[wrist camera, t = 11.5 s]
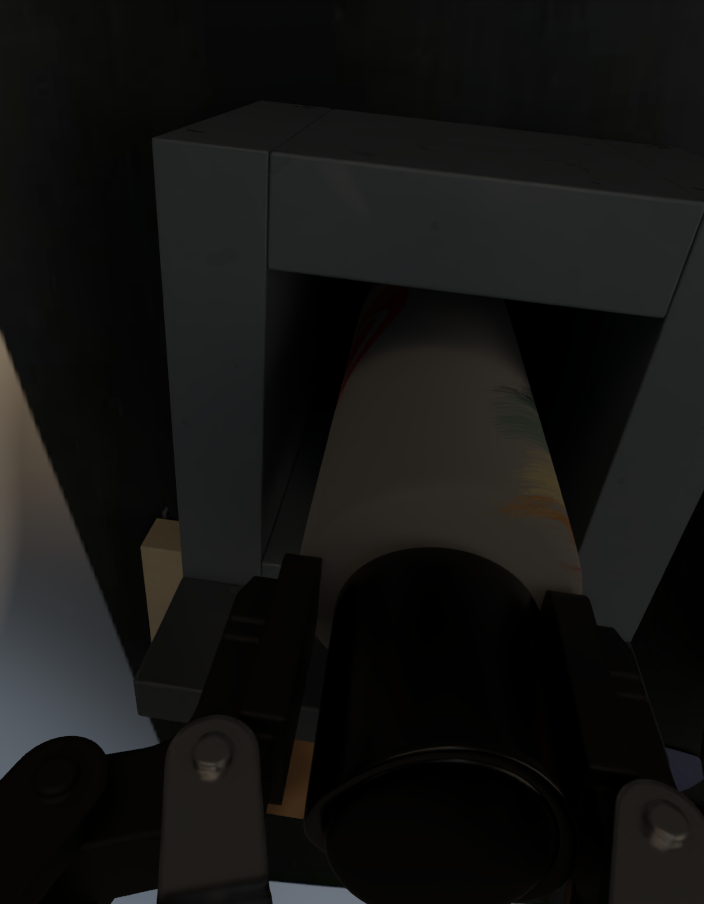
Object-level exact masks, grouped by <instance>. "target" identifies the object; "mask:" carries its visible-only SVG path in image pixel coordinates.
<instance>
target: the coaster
mask: <svg viewBox="0 0 704 904" xmlns="http://www.w3.org/2000/svg"><path fill="white" fill-rule="evenodd" d="M313 748H314V742H307V741H301V740H295V741H294V746H293V751H292V756H291V761H290V766H289V771H288V776H287V781H286V786H285V791H284V797H283V802H282V806H281V805H275V804H268V806H267V811H266V813H269V814H275V815H281V816H287V817H293V818H300V819H304V811H305V803H306V796H307V789H308V782H309V775H310V768H311V762H312V755H313Z"/></svg>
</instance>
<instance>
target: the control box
mask: <svg viewBox="0 0 704 904" xmlns="http://www.w3.org/2000/svg"><path fill="white" fill-rule="evenodd" d="M141 555H142V564H143V573H144V581H145V590H146V598H147V607H148V616H149V624H150V633H151V641H153V639H154V637H155V635H156V632H157V630H158V628H159V626H160V624H161V622H162V620H163V618H164V615H165V613H166V611H167V609H168V607H169V605H170V603H171V601H172V598H173V596H174V594H175V592H176V590H177V588H178V586H179V584H180V581H181V579H182V578H183V572H182V558H181V544H180V530H179V521H174V520H167V519H160V518H157V519H156V521H155V522H154V524H153V526H152V527H151V529H150V531H149V533H148V534H147V536H146V538H145V540H144V541H143V543H142V545H141Z"/></svg>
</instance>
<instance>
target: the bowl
mask: <svg viewBox="0 0 704 904" xmlns="http://www.w3.org/2000/svg"><path fill="white" fill-rule="evenodd" d="M701 765H702V772H703V777H704V731H703V739H702V746H701Z"/></svg>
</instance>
